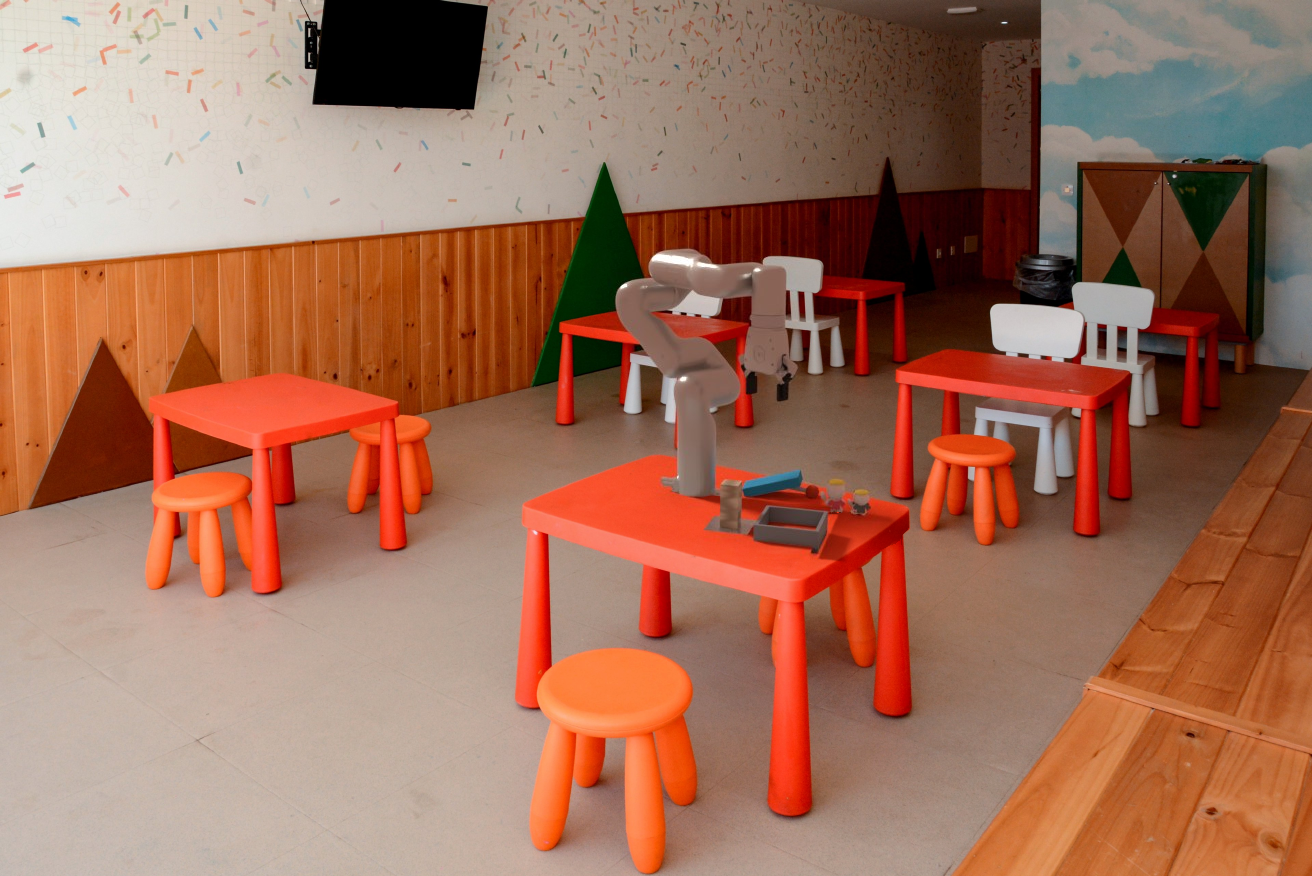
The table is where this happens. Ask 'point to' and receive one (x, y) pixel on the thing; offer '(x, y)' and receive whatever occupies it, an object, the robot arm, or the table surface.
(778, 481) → the lever
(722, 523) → the strut
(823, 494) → the toy figures
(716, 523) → the square lid with knob
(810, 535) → the bin
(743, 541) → the table surface
